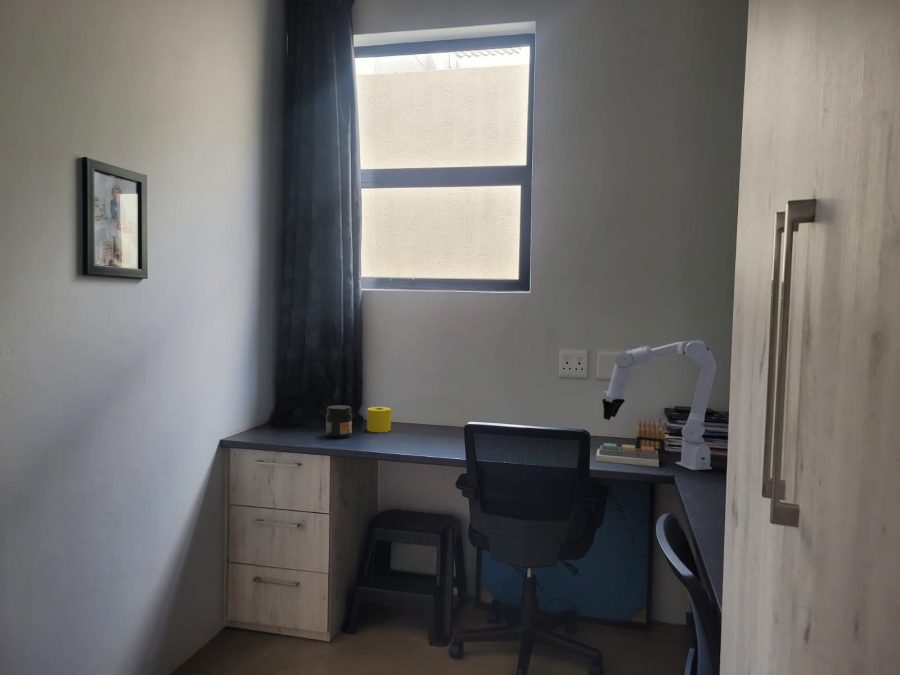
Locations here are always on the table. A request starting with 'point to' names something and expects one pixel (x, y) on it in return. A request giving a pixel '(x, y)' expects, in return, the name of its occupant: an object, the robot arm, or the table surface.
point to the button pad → (627, 457)
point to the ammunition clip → (651, 436)
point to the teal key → (609, 446)
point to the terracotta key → (647, 449)
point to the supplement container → (338, 421)
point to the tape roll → (379, 419)
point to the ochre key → (628, 448)
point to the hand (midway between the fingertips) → (609, 417)
